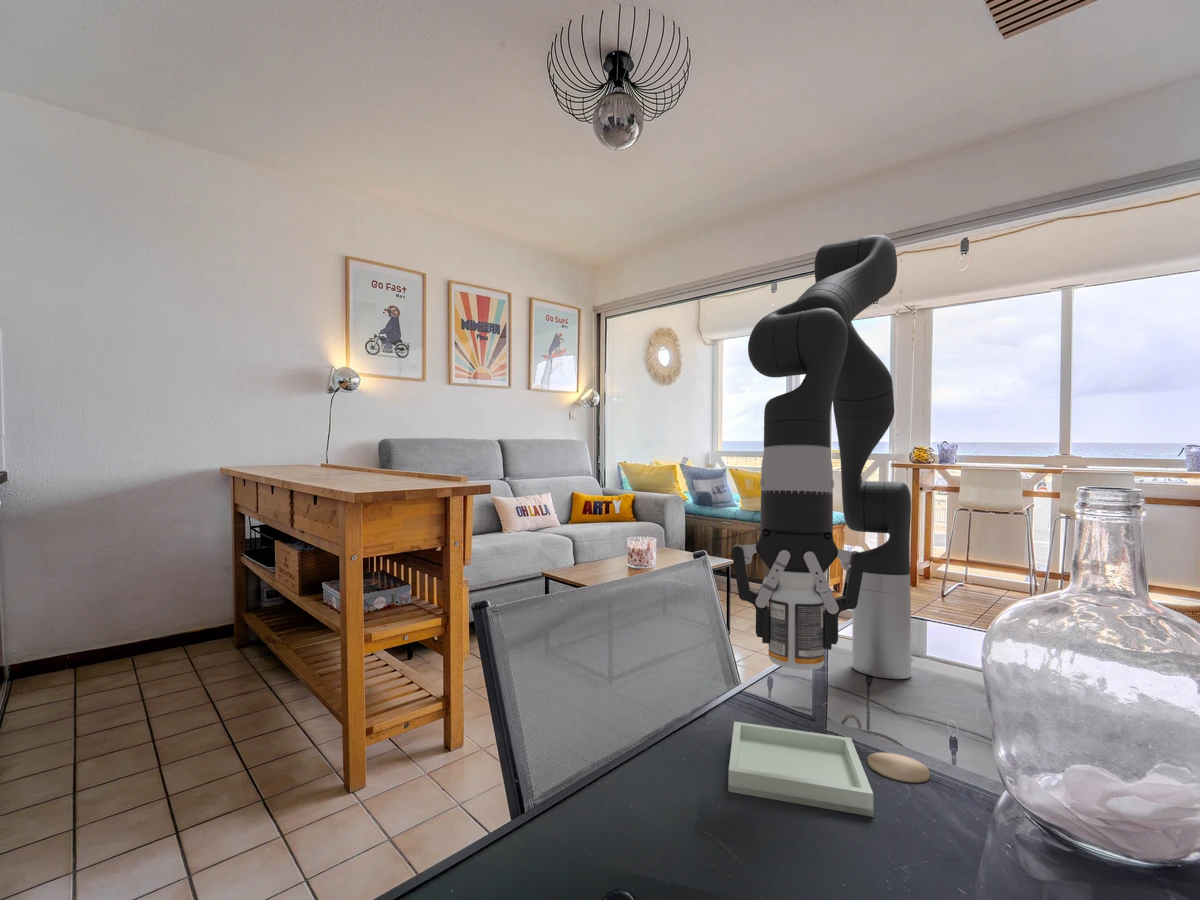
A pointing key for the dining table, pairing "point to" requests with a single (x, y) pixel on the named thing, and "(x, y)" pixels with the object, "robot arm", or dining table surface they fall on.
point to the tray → (798, 768)
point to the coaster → (898, 767)
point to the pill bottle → (796, 622)
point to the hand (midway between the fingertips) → (795, 644)
